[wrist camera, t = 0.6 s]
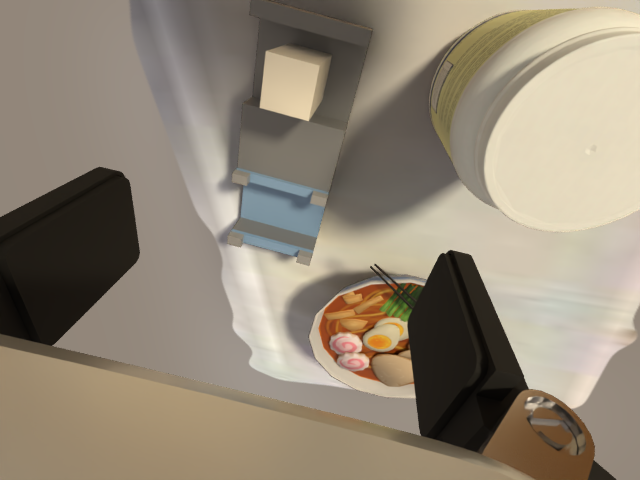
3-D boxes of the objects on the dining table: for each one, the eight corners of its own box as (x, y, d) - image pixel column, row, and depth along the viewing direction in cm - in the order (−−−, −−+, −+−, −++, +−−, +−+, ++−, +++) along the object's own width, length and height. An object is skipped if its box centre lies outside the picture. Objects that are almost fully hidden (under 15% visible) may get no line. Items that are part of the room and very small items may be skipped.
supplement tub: (412, 143, 35) (435, 229, 21) (450, 1, 28) (522, -12, 14) (531, 160, 34) (637, 261, 20) (601, 18, 27) (835, 23, 13)
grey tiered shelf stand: (265, -1, 29) (244, -4, 25) (373, 28, 30) (372, 31, 25) (242, 220, 43) (227, 243, 39) (316, 239, 43) (309, 265, 39)
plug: (290, 43, 30) (265, 51, 24) (332, 54, 30) (319, 65, 24) (283, 89, 32) (259, 107, 26) (322, 99, 33) (308, 121, 26)
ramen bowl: (280, 290, 50) (265, 333, 43) (408, 203, 39) (414, 243, 32) (384, 375, 58) (385, 423, 51) (514, 324, 47) (537, 376, 40)
